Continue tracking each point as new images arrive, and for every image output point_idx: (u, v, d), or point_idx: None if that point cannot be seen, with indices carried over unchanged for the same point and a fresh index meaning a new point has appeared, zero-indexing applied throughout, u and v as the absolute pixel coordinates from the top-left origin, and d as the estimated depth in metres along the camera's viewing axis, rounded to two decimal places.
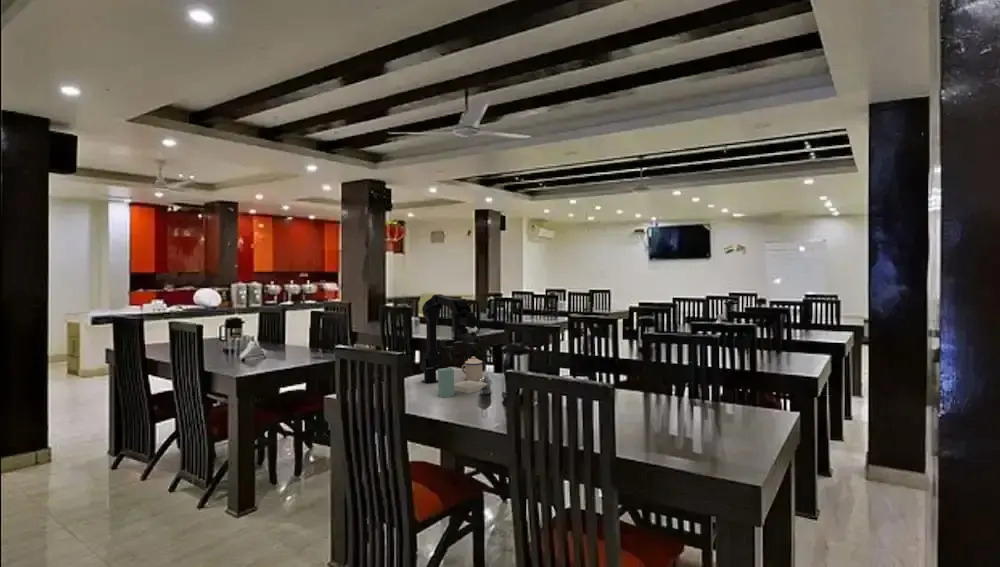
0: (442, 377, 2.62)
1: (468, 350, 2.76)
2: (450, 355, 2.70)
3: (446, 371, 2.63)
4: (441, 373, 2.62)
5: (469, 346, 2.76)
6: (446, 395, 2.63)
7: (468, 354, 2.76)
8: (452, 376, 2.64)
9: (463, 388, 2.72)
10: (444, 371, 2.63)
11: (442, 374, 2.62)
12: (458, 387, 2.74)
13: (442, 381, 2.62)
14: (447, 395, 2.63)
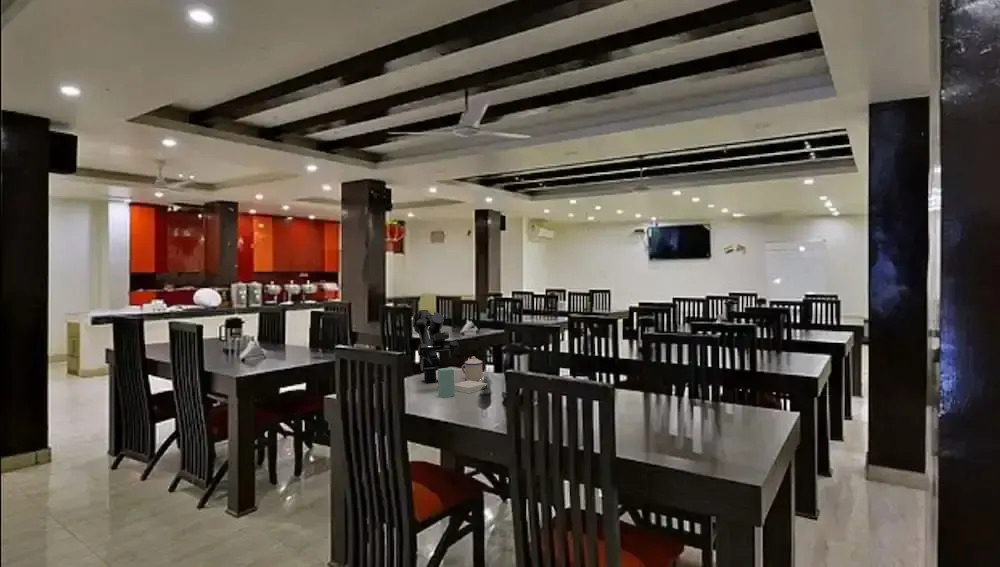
0: (442, 377, 2.62)
1: (450, 356, 2.77)
2: (428, 359, 2.73)
3: (446, 371, 2.63)
4: (441, 373, 2.62)
5: (449, 352, 2.78)
6: (446, 395, 2.63)
7: (450, 359, 2.76)
8: (452, 376, 2.64)
9: (463, 388, 2.72)
10: (444, 371, 2.63)
11: (442, 374, 2.62)
12: (458, 387, 2.74)
13: (442, 381, 2.62)
14: (447, 395, 2.63)
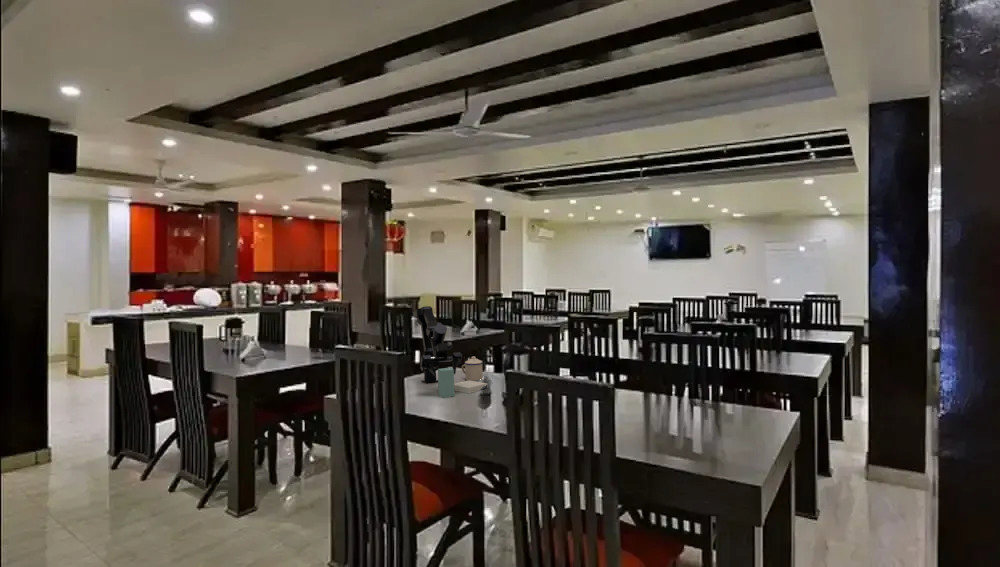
0: (442, 377, 2.62)
1: (453, 367, 2.71)
2: (431, 370, 2.67)
3: (446, 371, 2.63)
4: (441, 373, 2.62)
5: (453, 363, 2.72)
6: (446, 395, 2.63)
7: None
8: (452, 376, 2.64)
9: (463, 388, 2.72)
10: (444, 371, 2.63)
11: (442, 374, 2.62)
12: (458, 387, 2.74)
13: (442, 381, 2.62)
14: (447, 395, 2.63)
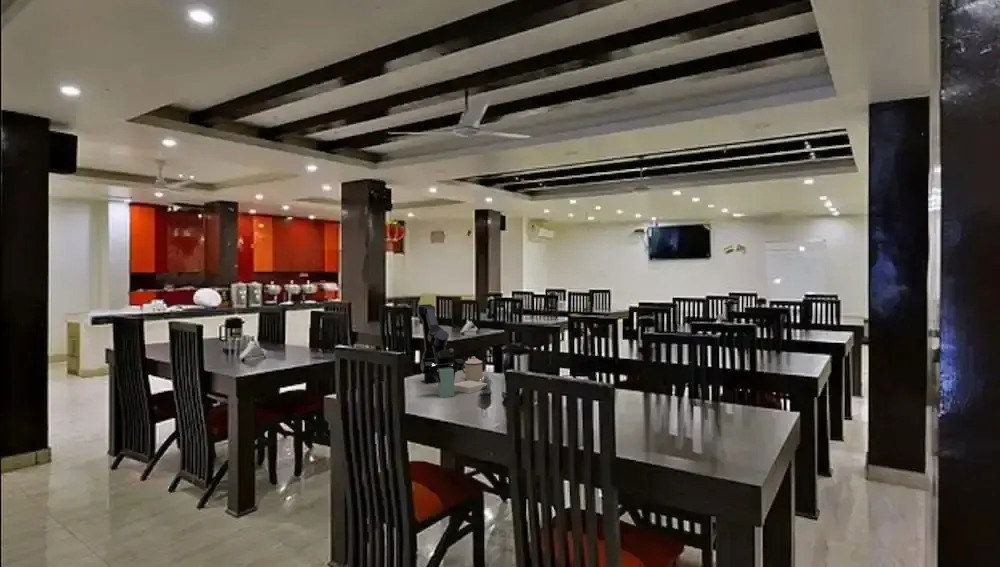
0: (442, 377, 2.62)
1: None
2: (436, 377, 2.65)
3: (446, 371, 2.63)
4: (441, 373, 2.62)
5: None
6: (446, 395, 2.63)
7: None
8: (452, 376, 2.64)
9: (463, 388, 2.72)
10: (444, 371, 2.63)
11: (442, 374, 2.62)
12: (458, 387, 2.74)
13: (442, 381, 2.62)
14: (447, 395, 2.63)
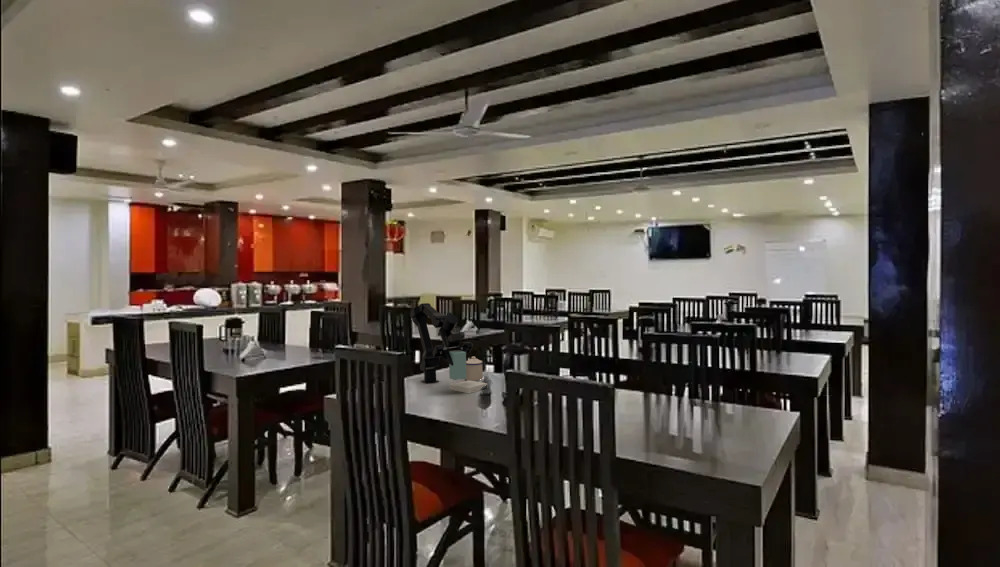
0: (455, 360, 2.67)
1: None
2: (449, 360, 2.68)
3: (459, 354, 2.68)
4: (454, 356, 2.67)
5: None
6: (459, 377, 2.68)
7: None
8: (464, 358, 2.69)
9: (463, 388, 2.72)
10: (457, 354, 2.67)
11: (455, 357, 2.67)
12: (458, 387, 2.74)
13: (455, 364, 2.67)
14: (460, 377, 2.68)
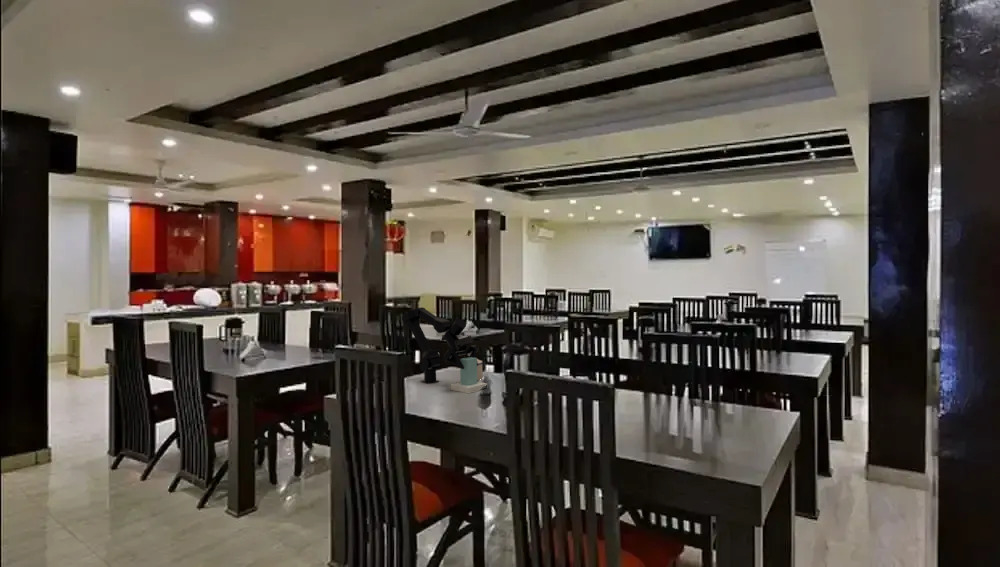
0: (468, 366, 2.74)
1: None
2: (459, 364, 2.74)
3: (471, 360, 2.76)
4: (468, 362, 2.74)
5: (471, 356, 2.83)
6: (471, 383, 2.76)
7: None
8: (475, 364, 2.78)
9: (463, 388, 2.72)
10: (470, 360, 2.75)
11: (468, 363, 2.74)
12: (458, 387, 2.74)
13: (468, 370, 2.74)
14: (472, 383, 2.76)
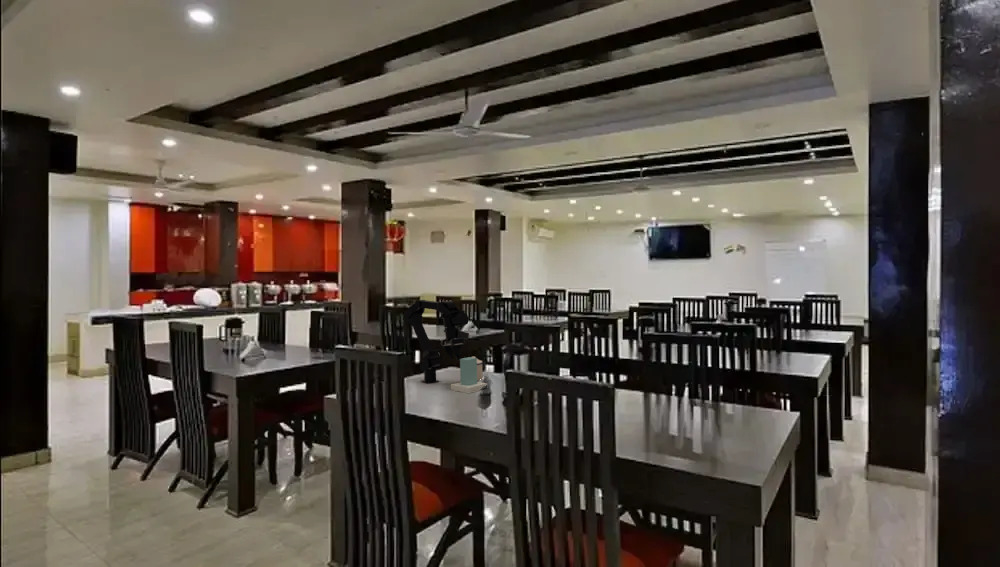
0: (468, 366, 2.74)
1: (449, 351, 2.89)
2: (458, 353, 2.80)
3: (471, 360, 2.76)
4: (468, 362, 2.74)
5: (450, 347, 2.90)
6: (471, 383, 2.76)
7: (451, 355, 2.89)
8: (475, 364, 2.78)
9: (463, 388, 2.72)
10: (470, 360, 2.75)
11: (468, 363, 2.74)
12: (458, 387, 2.74)
13: (468, 370, 2.74)
14: (472, 383, 2.76)
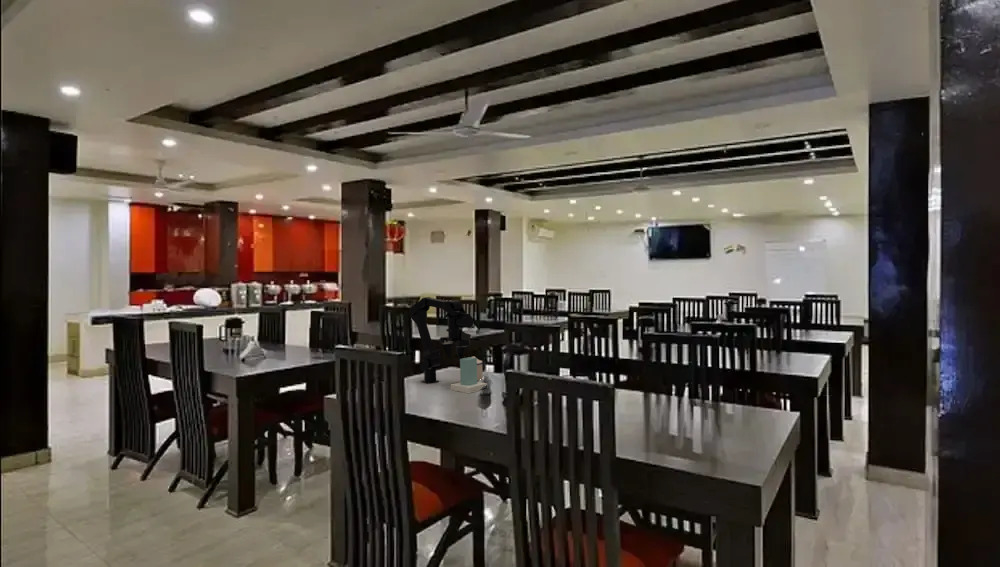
0: (468, 366, 2.74)
1: (448, 350, 2.88)
2: (461, 355, 2.80)
3: (471, 360, 2.76)
4: (468, 362, 2.74)
5: (449, 346, 2.89)
6: (471, 383, 2.76)
7: (449, 354, 2.88)
8: (475, 364, 2.78)
9: (463, 388, 2.72)
10: (470, 360, 2.75)
11: (468, 363, 2.74)
12: (458, 387, 2.74)
13: (468, 370, 2.74)
14: (472, 383, 2.76)
